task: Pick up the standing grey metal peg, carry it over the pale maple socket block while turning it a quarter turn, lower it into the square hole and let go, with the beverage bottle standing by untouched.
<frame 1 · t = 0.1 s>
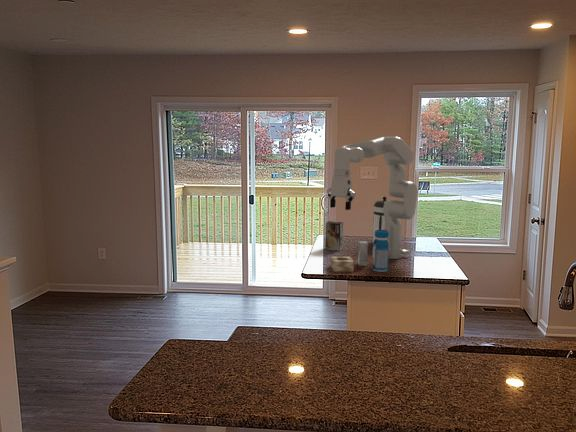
hand: (340, 208, 247), 31 cm above the worktop, tool pointing down, fingers open, 9 cm apart
beverage bottle: (379, 270, 254), on the worktop
peg: (362, 264, 264), on the worktop
coffee press: (380, 245, 312), on the worktop
socket block: (341, 268, 255), on the worktop
coffee box: (333, 249, 298), on the worktop
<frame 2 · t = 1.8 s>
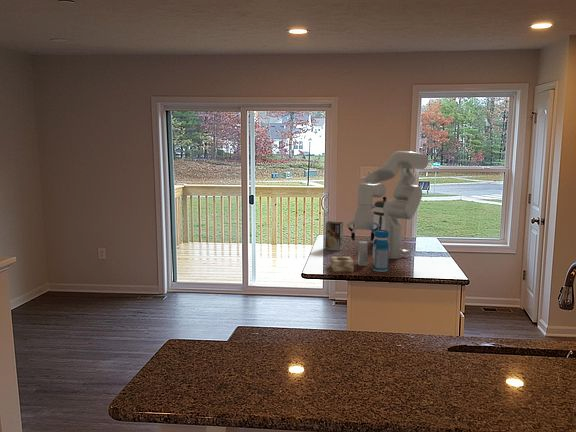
hand: (362, 240, 261), 13 cm above the worktop, tool pointing down, fingers open, 9 cm apart
nothing on the worktop moved.
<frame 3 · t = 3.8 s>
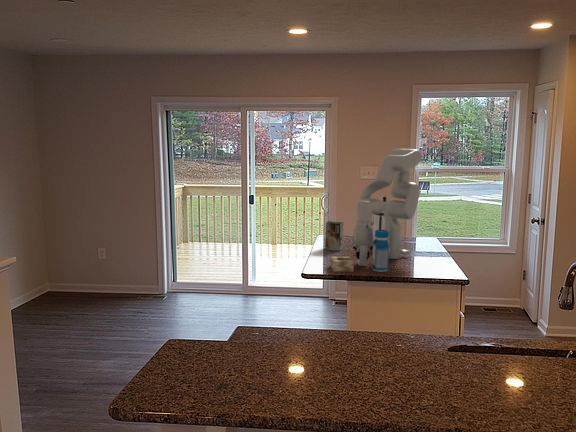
hand: (362, 258, 263), 3 cm above the worktop, tool pointing down, fingers closed on peg, 4 cm apart
peg: (362, 264, 264), on the worktop, touching gripper
everything else where it was.
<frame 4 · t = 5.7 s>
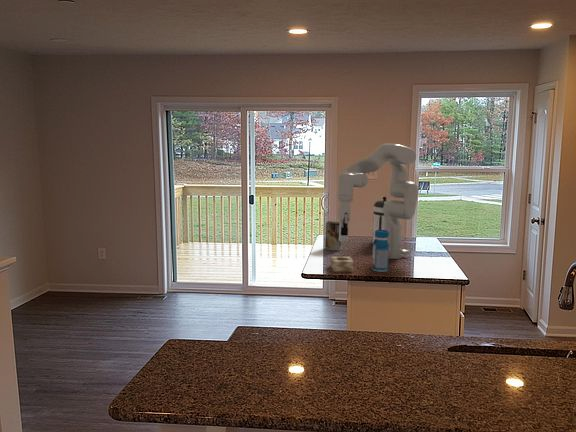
hand: (343, 234, 252), 18 cm above the worktop, tool pointing down, fingers closed on peg, 4 cm apart
peg: (343, 240, 253), point 14 cm above the worktop, touching gripper
everything else where it was.
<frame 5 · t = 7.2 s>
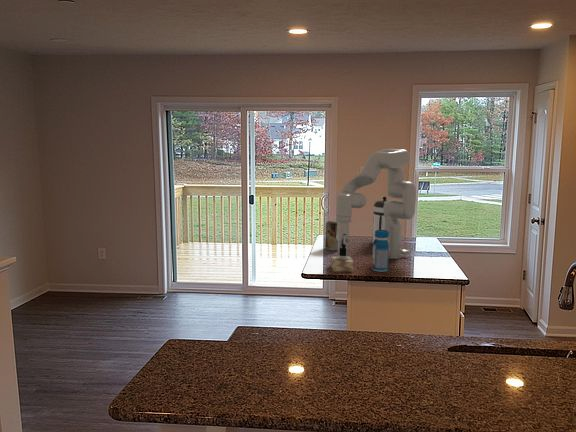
hand: (342, 254, 254), 7 cm above the worktop, tool pointing down, fingers closed on peg, 4 cm apart
peg: (341, 260, 254), point 4 cm above the worktop, touching gripper
everything else where it was.
when the fingers open (6 cm above the worktop, at t = 8.1 s): peg drops 3 cm, resting in socket block.
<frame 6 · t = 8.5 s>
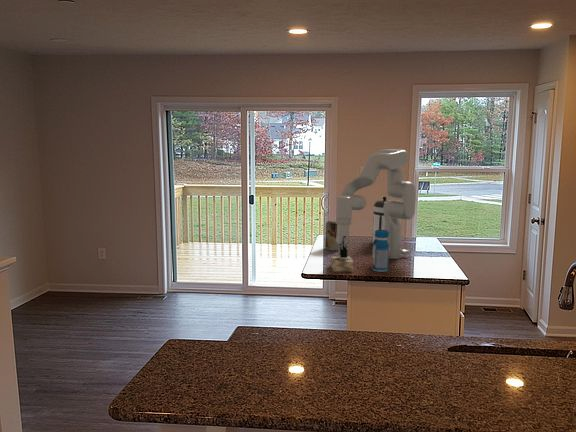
hand: (342, 254, 254), 7 cm above the worktop, tool pointing down, fingers open, 8 cm apart
peg: (342, 268, 255), resting in socket block
everything else where it was.
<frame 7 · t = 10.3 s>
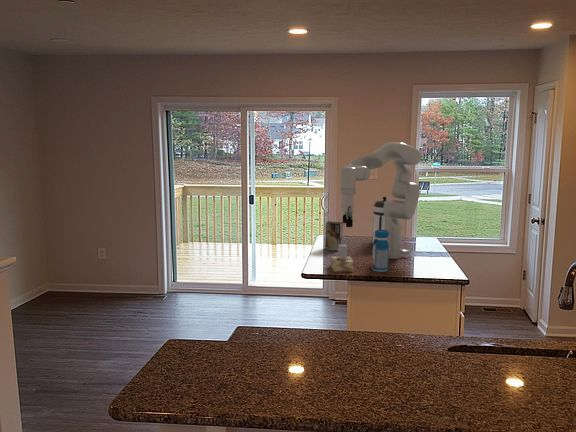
hand: (347, 225, 256), 22 cm above the worktop, tool pointing down, fingers open, 9 cm apart
nothing on the worktop moved.
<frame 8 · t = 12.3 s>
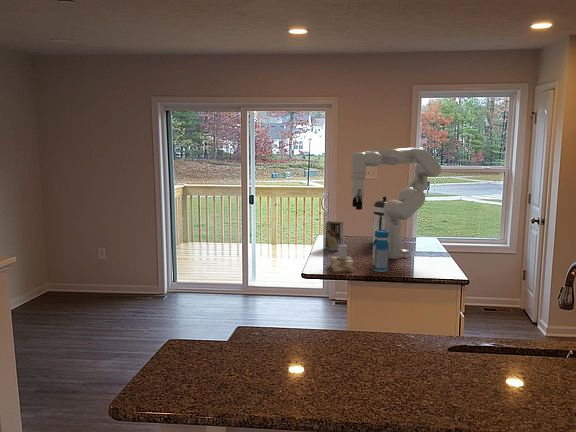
hand: (357, 208, 269), 28 cm above the worktop, tool pointing down, fingers open, 9 cm apart
nothing on the worktop moved.
at the end: peg 0.1 cm off-centre on the socket block, point 0.0 cm above the socket block's base; peg tilted 0°; the gripper is holding nothing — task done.
